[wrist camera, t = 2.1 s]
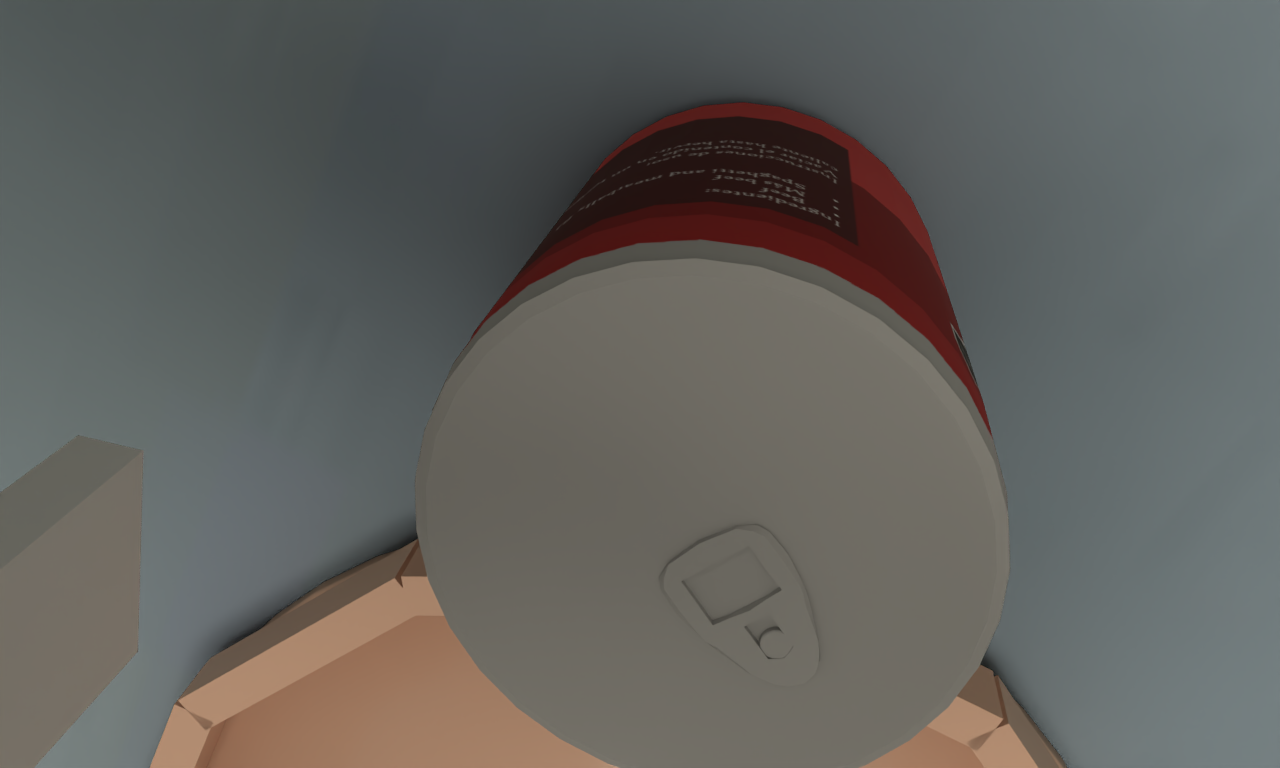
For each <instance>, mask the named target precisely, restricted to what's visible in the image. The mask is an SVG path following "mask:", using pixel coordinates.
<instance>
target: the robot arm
mask: <svg viewBox="0 0 1280 768" xmlns="http://www.w3.org/2000/svg"><path fill="white" fill-rule="evenodd" d="M142 479H143V450H138V449H134V448H130V447H126V446H122V445H117V444H113V443H109V442H105V441H100V440H96V439H92V438H88V437H83V436H79V435H78V436H77V437H75V438H74V439H73V440H71V441H70V442H68V443H67V444H66V445H64V446H63V447H62V448H60V449H59V450H58V451H56V452H55V453H54V454H52V455H51V456H49V457H48V458H47V459H45V460H44V461H43V462H41V463H40V464H39V465H37V466H36V467H35V468H33V469H32V470H30V471H29V472H28V473H26V474H25V475H24V476H22V477H21V478H20V479H18V480H17V481H16V482H14V483H13V484H11V485H10V486H9V487H7V488H6V489H5V490H3V491H2V492H1V493H0V768H34V767H35V766H36V765H37V764H38V762H39V761H40V760H41V759H42V758H43V757H44V756H45V755H46V753H47V752H48V751H49V750H50V749H51V748H52V747H53V746H54V745H55V743H56V742H57V741H58V740H59V739H60V738H61V737H62V736H63V734H64V733H65V732H66V731H67V730H68V729H69V728H70V727H71V725H72V724H73V723H74V722H75V721H76V720H77V719H78V718H79V717H80V715H81V714H82V713H83V712H84V711H85V710H86V709H87V708H88V706H89V705H90V704H91V703H92V702H93V701H94V700H95V699H96V698H97V696H98V695H99V694H100V693H101V692H102V691H103V690H104V689H105V687H106V686H107V685H108V684H109V683H110V682H111V681H112V680H113V678H114V677H115V676H116V675H117V674H118V673H119V672H120V671H121V670H122V668H123V667H124V666H125V665H126V664H127V663H128V662H129V661H130V659H131V658H132V657H133V656H134V655H135V654H136V653H137V652H138V628H139V591H140V554H141V517H142Z"/></svg>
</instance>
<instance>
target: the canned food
mask: <svg viewBox="0 0 1280 768" xmlns="http://www.w3.org/2000/svg"><path fill="white" fill-rule="evenodd" d="M415 501H416V531H417V535H418V540H419V544H420V548H421V552H422V556H423V561H424V565H425V569H426V573H427V577H428V581H429V583H430V585H431V587H432V590H433V592H434V594H435V596H436V598H437V600H438V603H439V605H440V607H441V609H442V611H443V614H444V616H445V618H446V620H447V622H448V625H449V627H450V628H451V630H452V631H453V633H454V634H455V635H456V637H457V638H458V640H459V641H460V643H461V644H462V645H463V647H464V648H465V650H466V651H467V653H468V654H469V656H470V657H471V658H472V660H473V661H474V663H475V664H476V666H477V667H478V668H479V670H480V671H481V672H482V673H483V674H484V675H485V676H486V677H487V678H488V679H489V680H490V681H491V682H492V683H493V684H494V685H495V686H496V687H497V688H498V689H499V690H500V691H501V692H502V693H503V694H504V695H505V696H506V697H507V698H508V699H509V700H510V701H511V702H512V703H513V704H514V705H515V706H516V707H517V708H518V709H519V710H521V711H522V712H524V713H525V714H526V715H528V716H529V717H530V718H532V719H533V720H534V721H536V722H537V723H539V724H540V725H541V726H543V727H544V728H545V729H547V730H548V731H550V732H551V733H552V734H554V735H555V736H556V737H558V738H559V739H561V740H563V741H565V742H567V743H569V744H571V745H572V746H574V747H576V748H578V749H580V750H582V751H584V752H586V753H588V754H590V755H592V756H594V757H596V758H598V759H600V760H602V761H604V762H606V763H607V764H610V765H613V766H616V767H619V768H859V767H862V766H865V765H867V764H869V763H870V762H872V761H874V760H876V759H878V758H879V757H881V756H883V755H885V754H887V753H888V752H890V751H892V750H894V749H895V748H897V747H899V746H901V745H903V744H904V743H906V742H908V741H910V740H911V739H912V738H913V737H914V736H916V735H917V734H918V733H919V732H920V731H921V730H923V729H924V728H925V727H926V726H927V725H928V724H930V723H931V722H932V721H933V720H934V719H935V718H936V717H938V716H939V715H940V714H941V713H942V712H943V711H945V710H946V709H947V708H948V707H949V706H950V704H951V703H952V702H953V700H954V699H955V698H956V697H957V695H958V694H959V693H960V691H961V690H962V689H963V687H964V686H965V685H966V683H967V682H968V681H969V679H970V678H971V677H972V675H973V674H974V673H975V671H976V670H977V669H978V667H979V666H980V663H981V661H982V659H983V657H984V655H985V652H986V650H987V648H988V646H989V644H990V641H991V639H992V637H993V635H994V633H995V630H996V628H997V626H998V624H999V622H1000V618H1001V613H1002V608H1003V603H1004V598H1005V593H1006V588H1007V583H1008V578H1009V573H1010V550H1009V519H1008V506H1007V491H1006V487H1005V483H1004V480H1003V476H1002V472H1001V468H1000V464H999V460H998V457H997V453H996V449H995V445H994V441H993V437H992V434H991V430H990V426H989V422H988V418H987V414H986V411H985V407H984V403H983V400H982V397H981V394H980V391H979V388H978V385H977V382H976V379H975V376H974V372H973V369H972V366H971V363H970V360H969V357H968V354H967V351H966V348H965V345H964V342H963V339H962V336H961V333H960V330H959V327H958V323H957V320H956V317H955V314H954V311H953V308H952V305H951V302H950V299H949V296H948V293H947V290H946V287H945V284H944V281H943V277H942V274H941V271H940V268H939V265H938V262H937V259H936V256H935V253H934V250H933V247H932V244H931V241H930V238H929V235H928V232H927V230H926V228H925V226H924V224H923V222H922V220H921V217H920V215H919V213H918V211H917V209H916V207H915V205H914V203H913V201H912V199H911V197H910V196H909V195H908V193H907V192H906V191H905V190H904V188H903V187H902V186H901V184H900V183H899V182H898V181H897V179H896V178H895V177H894V175H893V174H892V173H891V172H890V170H889V169H888V168H887V166H886V165H885V164H883V163H882V162H881V161H880V160H879V159H878V158H876V157H875V156H874V155H873V154H872V153H871V152H869V151H868V150H867V149H866V148H865V147H864V146H863V145H861V144H860V143H859V142H858V141H857V140H855V139H854V138H852V137H850V136H848V135H847V134H845V133H843V132H841V131H840V130H838V129H836V128H834V127H833V126H831V125H829V124H827V123H825V122H824V121H822V120H820V119H817V118H814V117H811V116H808V115H805V114H802V113H799V112H796V111H793V110H790V109H786V108H783V107H777V106H768V105H760V104H752V103H744V102H742V103H729V104H717V105H705V106H701V107H697V108H694V109H690V110H687V111H684V112H680V113H677V114H674V115H670V116H667V117H665V118H663V119H661V120H659V121H657V122H656V123H654V124H652V125H650V126H648V127H646V128H645V129H643V130H641V131H639V132H637V133H635V134H633V135H632V136H631V137H630V138H629V139H628V140H626V141H625V142H624V143H623V144H622V145H621V146H619V147H618V148H617V149H616V150H615V151H614V152H612V153H611V154H610V155H609V156H608V157H607V158H605V160H604V161H603V162H602V164H601V165H600V166H599V168H598V169H597V170H596V172H595V173H594V174H593V175H592V177H591V178H590V179H589V181H588V182H587V183H586V185H585V186H584V187H583V189H582V190H581V191H580V193H579V194H578V195H577V197H576V198H575V199H574V201H573V202H572V203H571V205H570V206H569V207H568V209H567V210H566V211H565V212H564V214H563V215H562V216H561V218H560V219H559V220H558V222H557V223H556V224H555V226H554V227H553V228H552V230H551V231H550V232H549V234H548V235H547V236H546V238H545V239H544V240H543V242H542V243H541V244H540V246H539V247H538V248H537V250H536V251H535V252H534V254H533V255H532V256H531V258H530V259H529V260H528V261H527V263H526V264H525V265H524V267H523V268H522V269H521V271H520V272H519V273H518V275H517V276H516V277H515V279H514V280H513V281H512V283H511V284H510V285H509V287H508V288H507V289H506V291H505V292H504V293H503V295H502V296H501V297H500V299H499V300H498V301H497V303H496V304H495V305H494V307H493V308H492V309H491V310H490V312H489V313H488V314H487V316H486V317H485V318H484V320H483V321H482V322H481V324H480V325H479V326H478V328H477V329H476V330H475V332H474V333H473V335H472V337H471V339H470V341H469V343H468V344H467V345H466V347H465V348H464V349H463V351H462V352H461V354H460V355H459V356H458V358H457V359H456V360H455V362H454V363H453V366H452V368H451V370H450V372H449V374H448V377H447V379H446V381H445V383H444V386H443V388H442V390H441V392H440V395H439V397H438V399H437V401H436V403H435V406H434V408H433V411H432V414H431V417H430V419H429V421H428V423H427V426H426V428H425V431H424V436H423V441H422V446H421V451H420V456H419V461H418V467H417V472H416V477H415Z"/></svg>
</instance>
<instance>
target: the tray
mask: <svg viewBox="0 0 1280 768" xmlns="http://www.w3.org/2000/svg"><path fill="white" fill-rule="evenodd" d="M150 768H619V767H616V766H613V765H610V764H607V763H606V762H604V761H602V760H600V759H598V758H596V757H594V756H592V755H590V754H588V753H586V752H584V751H582V750H580V749H578V748H576V747H574V746H572V745H571V744H569V743H567V742H565V741H563V740H561V739H559V738H558V737H556V736H555V735H554V734H552V733H551V732H550V731H548V730H547V729H545V728H544V727H543V726H541V725H540V724H539V723H537V722H536V721H534V720H533V719H532V718H530V717H529V716H528V715H526V714H525V713H524V712H522V711H521V710H519V709H518V708H517V707H516V706H515V705H514V704H513V703H512V702H511V701H510V700H509V699H508V698H507V697H506V696H505V695H504V694H503V693H502V692H501V691H500V690H499V689H498V688H497V687H496V686H495V685H494V684H493V683H492V682H491V681H490V680H489V679H488V678H487V677H486V676H485V675H484V674H483V673H482V672H481V671H480V670H479V668H478V667H477V666H476V664H475V663H474V661H473V660H472V658H471V657H470V656H469V654H468V653H467V651H466V650H465V648H464V647H463V645H462V644H461V643H460V641H459V640H458V638H457V637H456V635H455V634H454V633H453V631H452V630H451V628H450V627H449V625H448V622H447V620H446V618H445V616H444V614H443V611H442V609H441V607H440V605H439V603H438V600H437V598H436V596H435V594H434V592H433V590H432V587H431V585H430V583H429V581H428V577H427V573H426V569H425V565H424V561H423V556H422V552H421V548H420V544H419V540H418V539H417V540H415V541H413V542H411V543H410V544H408V545H406V546H405V547H403V548H401V549H398V550H395V551H392V552H389V553H386V554H383V555H380V556H377V557H375V558H373V559H371V560H369V561H366V562H364V563H362V564H360V565H358V566H356V567H354V568H352V569H350V570H348V571H346V572H344V573H342V574H340V575H338V576H335V577H333V578H331V579H329V580H327V581H325V582H323V583H321V584H320V585H319V586H317V587H316V588H314V589H313V590H311V591H310V592H308V593H307V594H305V595H304V596H302V597H301V598H300V599H298V600H297V601H295V602H294V603H292V604H291V605H289V606H288V607H286V608H285V609H283V610H282V611H280V612H279V613H278V614H276V615H275V616H274V617H273V618H272V619H271V620H270V621H269V622H268V623H266V624H265V625H264V626H263V627H262V628H261V629H260V630H258V631H256V632H255V633H253V634H251V635H249V636H248V637H246V638H244V639H242V640H241V641H239V642H237V643H236V644H234V645H232V646H230V647H229V648H227V649H225V650H223V651H222V652H220V653H218V654H216V655H215V656H213V657H211V658H210V659H209V661H208V662H207V663H206V664H205V665H204V667H203V668H202V669H201V670H200V672H199V673H198V674H197V676H196V677H195V678H194V680H193V681H192V682H191V683H190V685H189V686H188V687H187V689H186V690H185V691H184V693H183V694H182V695H181V697H180V698H179V699H178V700H177V702H176V703H175V704H174V707H173V709H172V712H171V715H170V717H169V720H168V722H167V725H166V727H165V730H164V733H163V735H162V738H161V740H160V743H159V745H158V748H157V750H156V753H155V756H154V758H153V761H152V763H151V766H150ZM859 768H1067V766H1066V764H1065V763H1064V761H1063V759H1062V758H1061V756H1060V755H1059V754H1058V752H1057V751H1056V750H1055V749H1054V747H1053V746H1052V745H1051V743H1050V742H1049V741H1048V740H1047V738H1046V737H1045V736H1044V734H1043V733H1042V732H1041V731H1040V729H1039V728H1038V727H1037V725H1036V724H1035V723H1034V721H1033V720H1032V719H1031V718H1030V716H1029V715H1028V714H1027V712H1026V711H1025V710H1024V709H1023V708H1022V707H1021V706H1020V705H1019V704H1018V703H1017V702H1016V701H1015V700H1014V699H1013V697H1012V696H1011V694H1010V693H1009V691H1008V690H1007V688H1006V687H1005V685H1004V684H1003V682H1002V681H1001V679H1000V678H999V676H998V675H997V676H995V677H994V674H993V671H992V670H990V669H988V668H986V667H984V666H982V665H980V666H979V667H978V669H977V670H976V671H975V673H974V674H973V675H972V677H971V678H970V679H969V681H968V682H967V683H966V685H965V686H964V687H963V689H962V690H961V691H960V693H959V694H958V695H957V697H956V698H955V699H954V700H953V702H952V703H951V704H950V706H949V707H948V708H947V709H946V710H945V711H943V712H942V713H941V714H940V715H939V716H938V717H936V718H935V719H934V720H933V721H932V722H931V723H930V724H928V725H927V726H926V727H925V728H924V729H923V730H921V731H920V732H919V733H918V734H917V735H916V736H914V737H913V738H912V739H911V740H910V741H908V742H906V743H904V744H903V745H901V746H899V747H897V748H895V749H894V750H892V751H890V752H888V753H887V754H885V755H883V756H881V757H879V758H878V759H876V760H874V761H872V762H870V763H869V764H867V765H865V766H862V767H859Z"/></svg>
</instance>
